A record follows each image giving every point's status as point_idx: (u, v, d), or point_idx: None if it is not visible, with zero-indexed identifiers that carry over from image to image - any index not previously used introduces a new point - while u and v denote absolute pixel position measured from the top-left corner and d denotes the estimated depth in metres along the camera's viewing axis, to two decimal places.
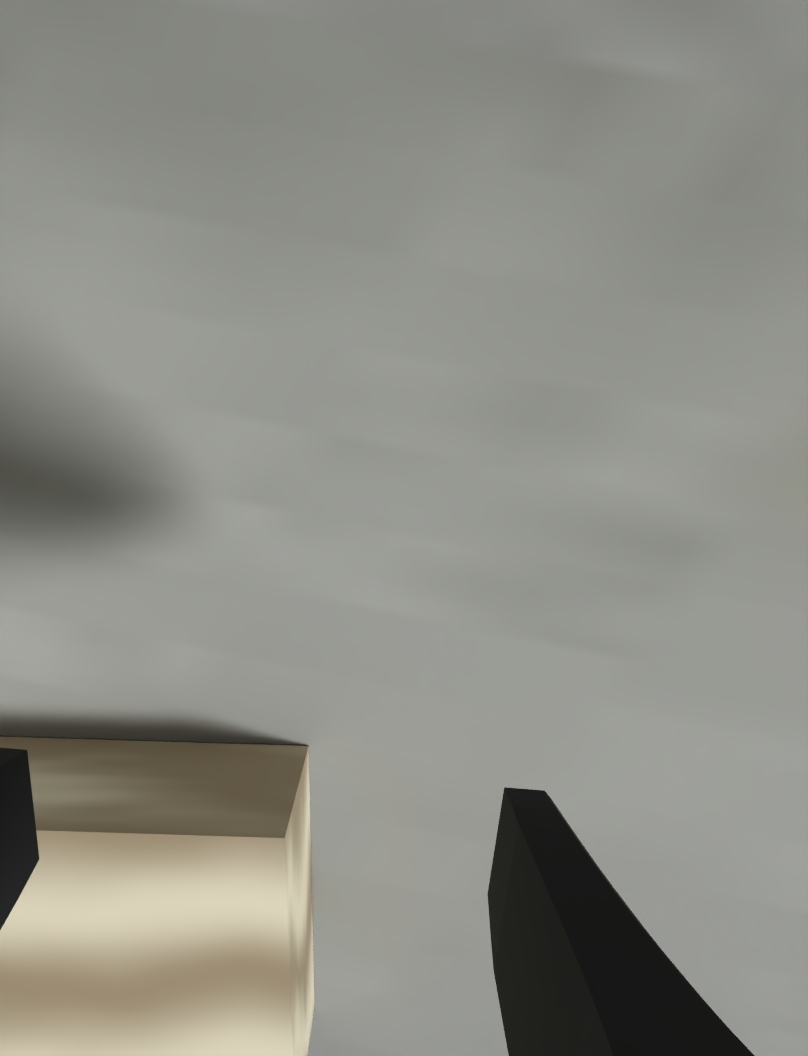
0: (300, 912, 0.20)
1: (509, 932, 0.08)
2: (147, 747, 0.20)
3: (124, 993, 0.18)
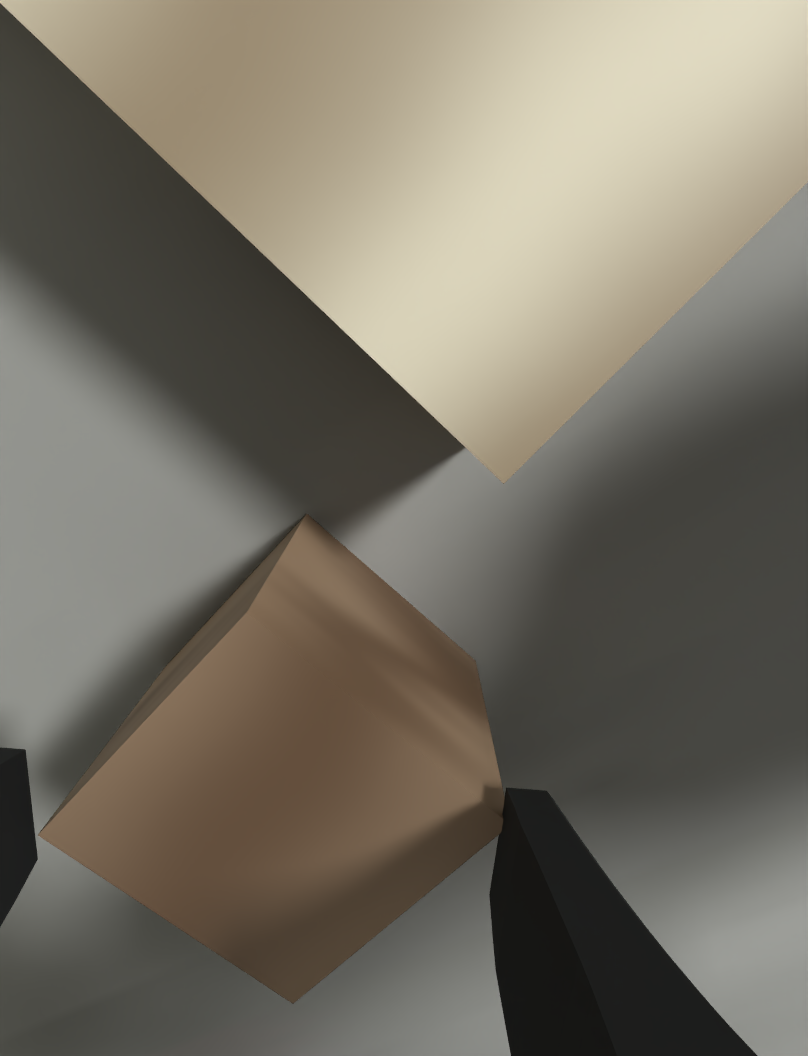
0: None
1: (511, 932, 0.08)
2: None
3: None
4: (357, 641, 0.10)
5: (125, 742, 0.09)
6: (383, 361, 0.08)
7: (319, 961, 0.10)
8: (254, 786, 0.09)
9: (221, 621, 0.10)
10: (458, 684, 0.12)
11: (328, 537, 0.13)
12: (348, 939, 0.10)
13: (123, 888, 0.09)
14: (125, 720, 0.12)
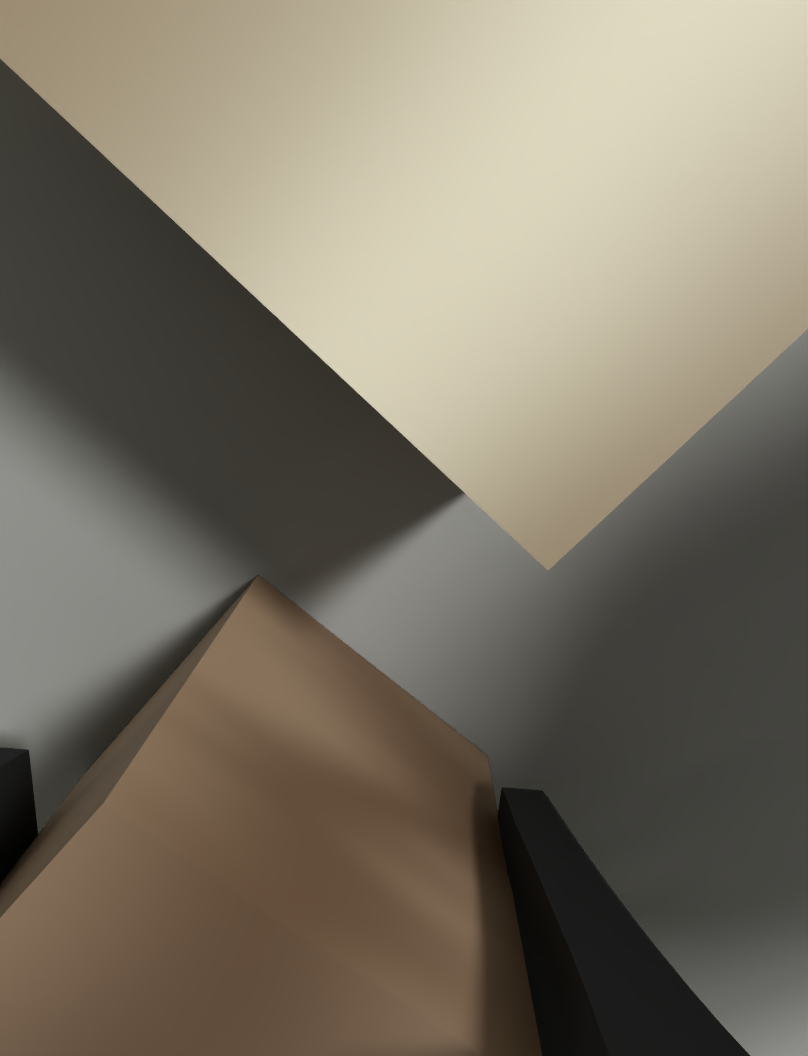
0: None
1: None
2: None
3: None
4: (312, 790, 0.07)
5: None
6: (352, 376, 0.05)
7: None
8: (143, 1051, 0.06)
9: (116, 757, 0.07)
10: (465, 815, 0.08)
11: (285, 609, 0.09)
12: None
13: None
14: (7, 874, 0.09)
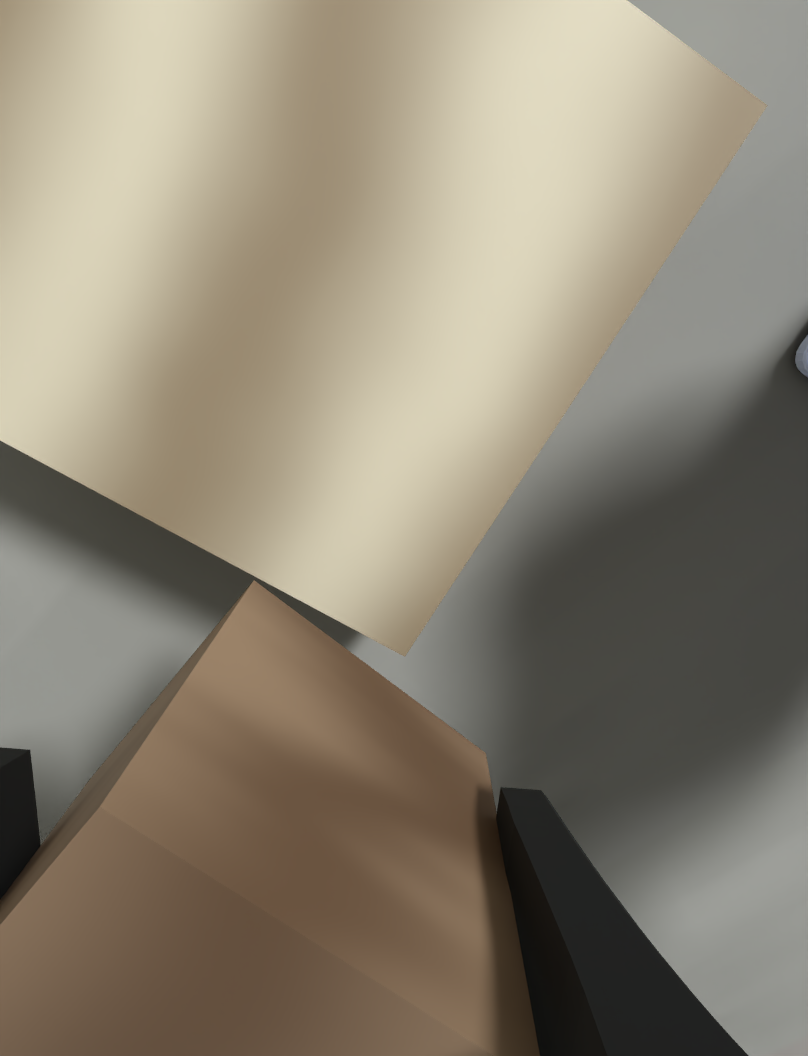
0: None
1: None
2: None
3: (312, 193, 0.11)
4: (308, 792, 0.07)
5: None
6: (312, 604, 0.13)
7: None
8: (148, 1049, 0.06)
9: (116, 762, 0.07)
10: (462, 812, 0.09)
11: (281, 613, 0.10)
12: None
13: None
14: (15, 880, 0.09)
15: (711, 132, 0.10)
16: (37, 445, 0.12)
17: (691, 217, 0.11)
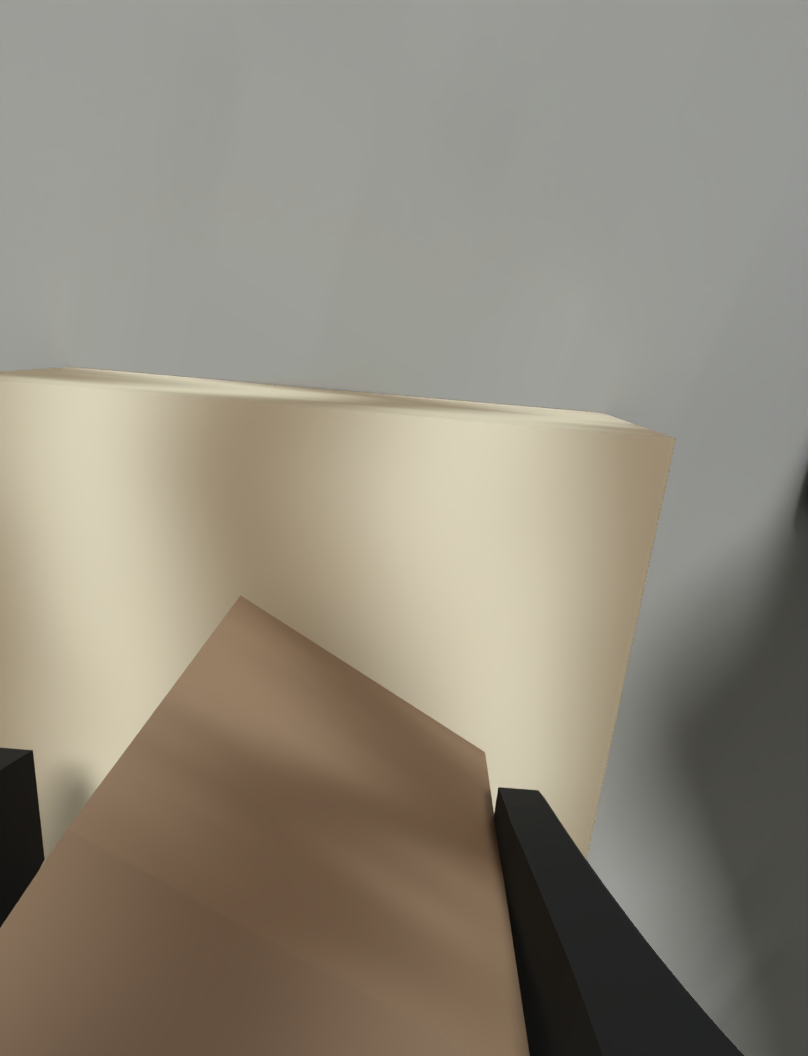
0: (260, 392, 0.12)
1: None
2: None
3: None
4: (288, 801, 0.07)
5: None
6: None
7: None
8: None
9: None
10: (456, 813, 0.09)
11: (267, 626, 0.10)
12: None
13: None
14: None
15: (632, 482, 0.10)
16: None
17: (649, 553, 0.10)
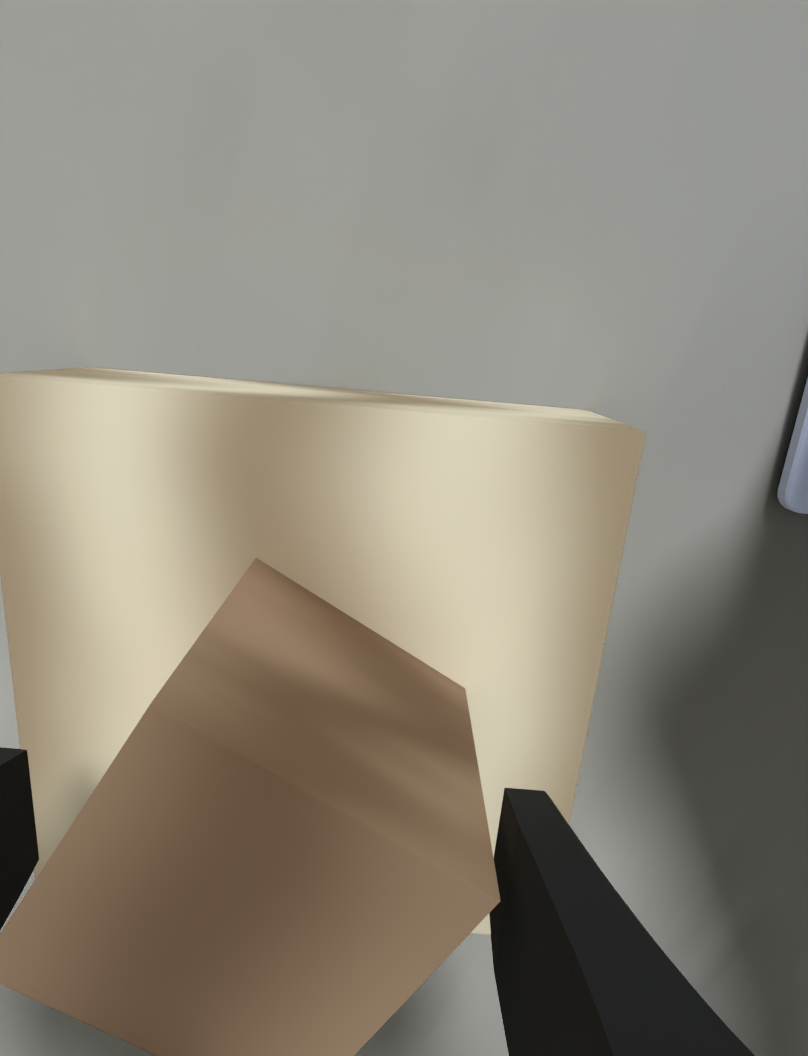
0: (269, 390, 0.13)
1: (509, 932, 0.08)
2: None
3: None
4: (306, 705, 0.09)
5: (47, 862, 0.08)
6: None
7: None
8: (201, 893, 0.08)
9: None
10: (440, 727, 0.10)
11: (281, 581, 0.11)
12: (341, 1045, 0.08)
13: (80, 1018, 0.08)
14: None
15: (607, 471, 0.11)
16: None
17: (623, 536, 0.12)
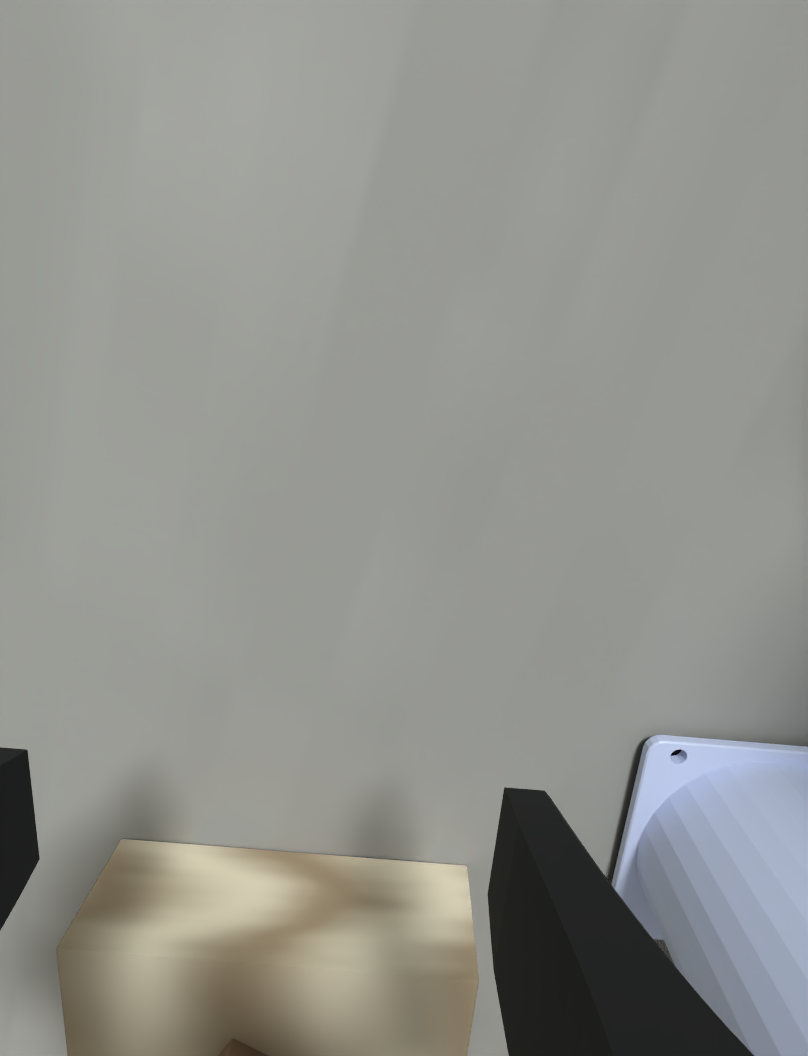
0: (242, 904, 0.19)
1: (509, 932, 0.08)
2: None
3: None
4: None
5: None
6: None
7: None
8: None
9: None
10: None
11: None
12: None
13: None
14: None
15: (456, 998, 0.18)
16: None
17: (469, 1030, 0.18)
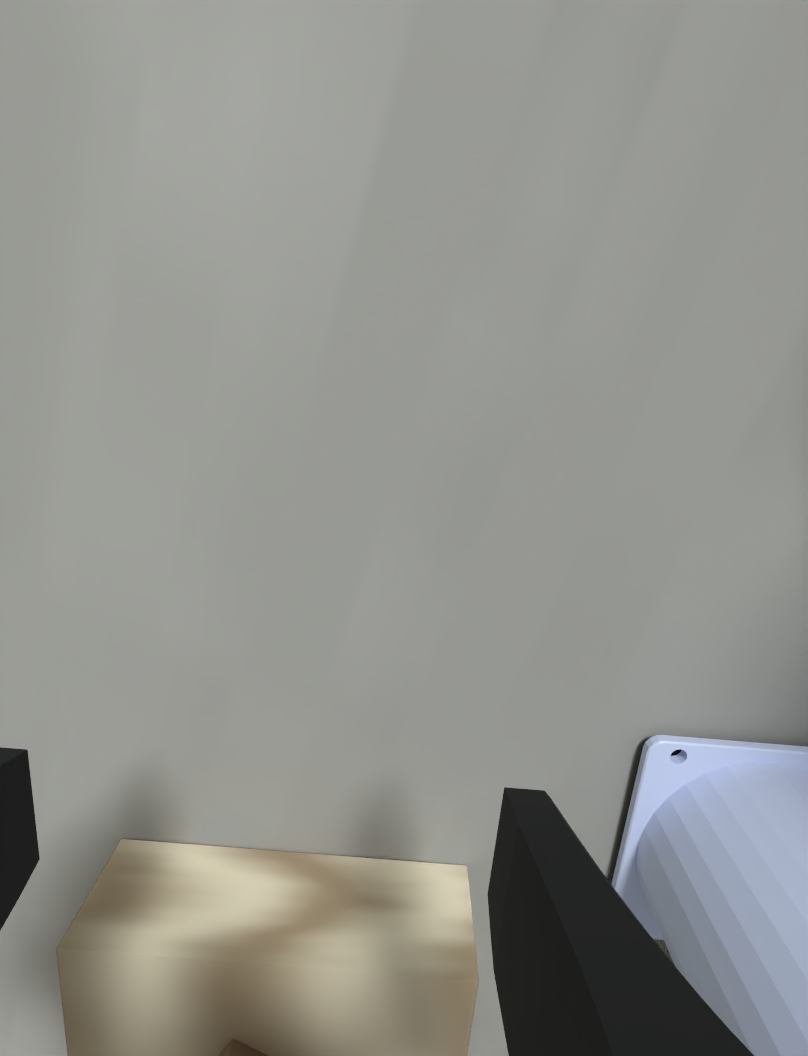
0: (242, 904, 0.19)
1: (509, 932, 0.08)
2: None
3: None
4: None
5: None
6: None
7: None
8: None
9: None
10: None
11: None
12: None
13: None
14: None
15: (456, 998, 0.18)
16: None
17: (469, 1030, 0.18)
